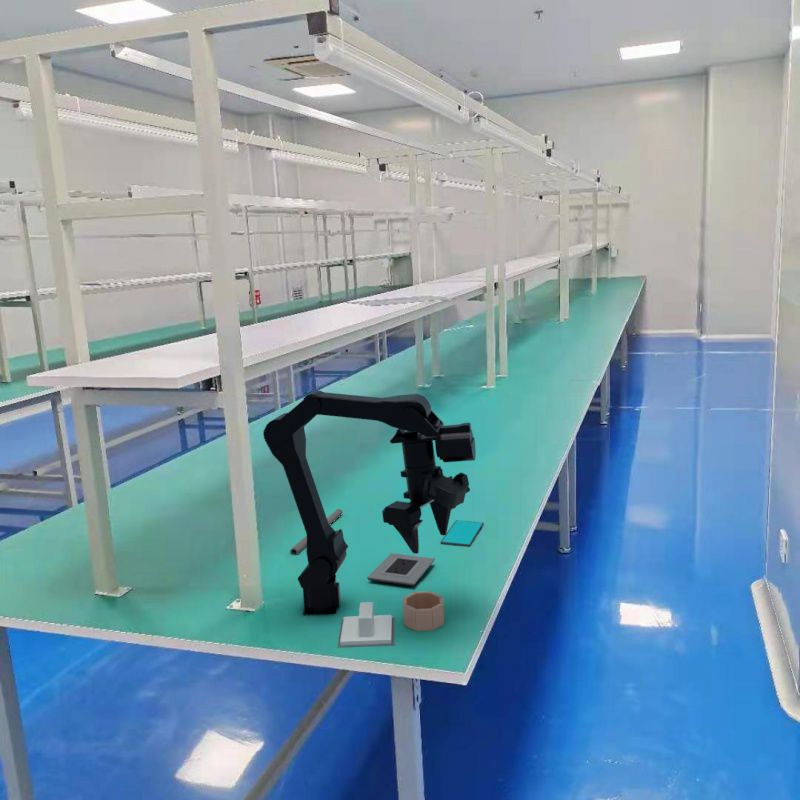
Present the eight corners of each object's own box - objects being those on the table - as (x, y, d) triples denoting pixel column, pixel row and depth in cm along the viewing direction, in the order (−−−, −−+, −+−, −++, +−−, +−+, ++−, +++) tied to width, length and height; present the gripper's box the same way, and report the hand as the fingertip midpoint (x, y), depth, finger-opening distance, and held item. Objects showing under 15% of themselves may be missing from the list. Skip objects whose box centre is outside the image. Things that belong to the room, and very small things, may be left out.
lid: (340, 645, 128) (339, 623, 127) (344, 620, 137) (343, 599, 136) (391, 643, 128) (390, 621, 127) (391, 618, 136) (390, 597, 136)
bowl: (404, 634, 132) (403, 611, 131) (403, 614, 139) (402, 592, 138) (445, 632, 132) (444, 609, 131) (442, 612, 139) (442, 590, 138)
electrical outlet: (414, 593, 148) (413, 582, 148) (367, 586, 152) (367, 575, 152) (435, 567, 160) (434, 557, 160) (391, 561, 164) (390, 551, 164)
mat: (337, 649, 127) (337, 647, 127) (341, 621, 137) (341, 619, 137) (394, 647, 127) (394, 645, 127) (394, 619, 137) (394, 617, 137)
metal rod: (290, 555, 170) (289, 547, 169) (336, 515, 195) (335, 508, 194) (297, 556, 169) (297, 548, 169) (342, 516, 194) (342, 509, 194)
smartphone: (440, 542, 172) (456, 520, 186) (440, 545, 172) (456, 523, 186) (470, 545, 169) (484, 522, 183) (470, 548, 170) (484, 525, 183)
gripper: (427, 482, 121) (437, 570, 123) (483, 452, 135) (492, 531, 138) (375, 477, 127) (386, 560, 130) (434, 449, 142) (443, 524, 145)
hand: (429, 543), depth 135 cm, fingers open, 9 cm apart
